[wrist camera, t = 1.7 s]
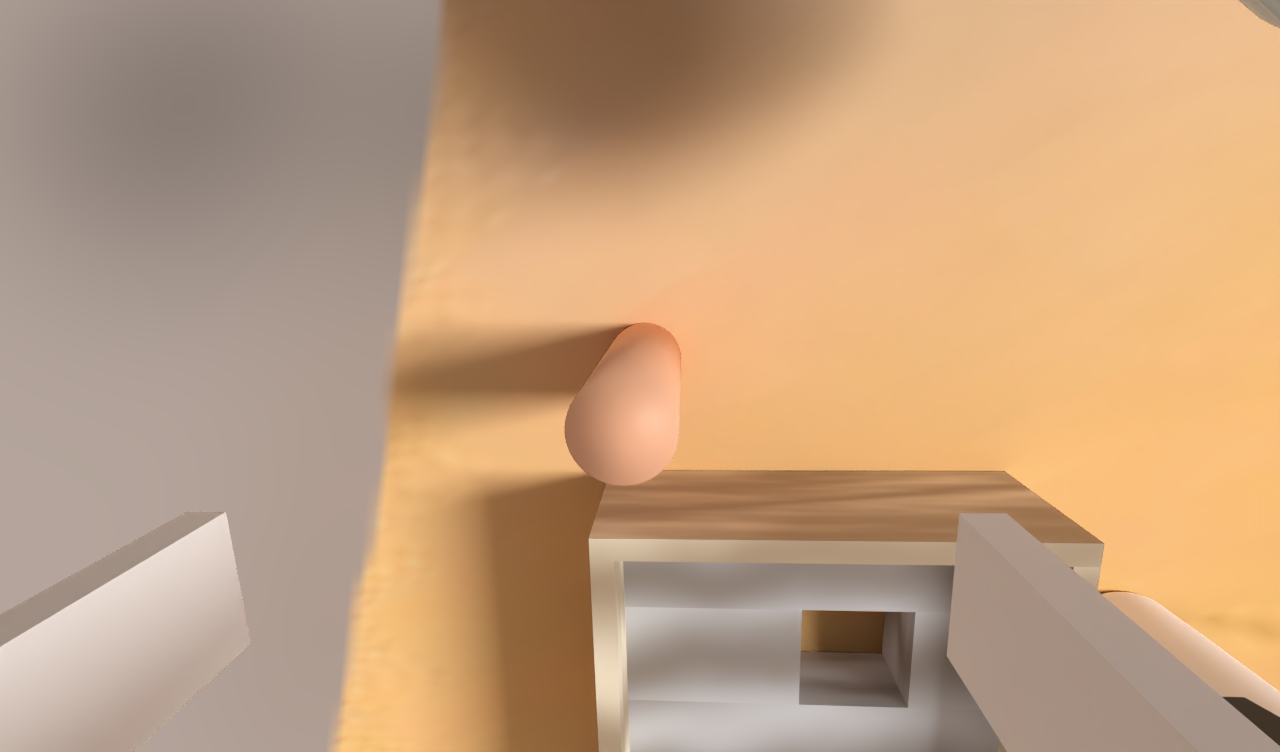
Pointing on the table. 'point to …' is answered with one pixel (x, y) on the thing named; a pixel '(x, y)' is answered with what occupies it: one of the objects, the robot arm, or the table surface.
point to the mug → (1196, 651)
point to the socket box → (792, 608)
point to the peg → (628, 409)
